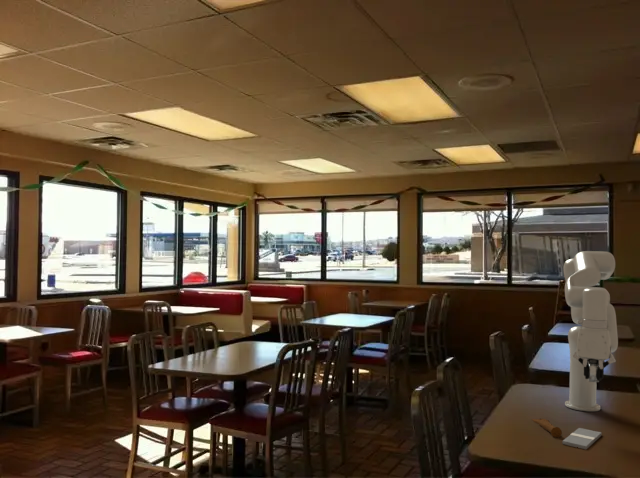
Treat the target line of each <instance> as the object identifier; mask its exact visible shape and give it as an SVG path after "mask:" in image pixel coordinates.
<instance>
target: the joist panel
mask: <svg viewBox="0 0 640 478" xmlns="http://www.w3.org/2000/svg"><path fill="white" fill-rule="evenodd" d="M601 436H602V432H601V431H597V430H596V431H595V430H591V429H588V428H583V427H578V428H577V429H575V430H574V431H573V432H571V433H570V435H568V436H567V437H565V438H564V439H563V440H562V445H564V446H565V445H566V446H570V447H575V448H577V447H578V449H581V450H587V449H589V448H590V447H591V446H592V445H593V444H594V443H595V442H596V441H597V440H598V439H599V438H601Z"/></svg>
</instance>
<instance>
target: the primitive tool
mask: <svg viewBox="0 0 640 478" xmlns="http://www.w3.org/2000/svg"><path fill="white" fill-rule="evenodd" d="M531 421H532V422H533V423H535V424H537V425H538V424H539V426H540V427H542V428H543V429H545V430H546V432H547V431H548V432H549V433H550V435H551V436H552V437H553V438H560V437H562V435H563V432H562V431H563V430H562V429H561V428H560V427H558V426H554V424H551V423H550V421H549V419H546V418H539V419H538V418H533V419H531Z"/></svg>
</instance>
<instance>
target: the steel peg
mask: <svg viewBox="0 0 640 478" xmlns="http://www.w3.org/2000/svg"><path fill="white" fill-rule="evenodd" d="M598 369H599V360H597V359H589V373H588V381H590V382H596V383H600V381H598V380H597V373H598Z"/></svg>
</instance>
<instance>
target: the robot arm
mask: <svg viewBox="0 0 640 478" xmlns="http://www.w3.org/2000/svg"><path fill="white" fill-rule="evenodd" d="M614 256H615V255H613V254H612V253H611V252H609V251H602V250H599V251H596V250H595V251H594V250H593V251H592V250H585V251H583V250H582V251H579V252H577V253H576V254H575V255H574V257H573V258H570V259H567V260H566V261H564V263H563V275H564V280H565V285H564V297H565V302H566V304H567V305H568V307H570V314H571V316H570V317H571V319H572V321H573V323H574V324H576V325H575V326H572V327H570V329H569V330H568V333H567V339H568V340H567V341H568V346H569V392H568V393H569V395H568V396H569V397H568V398H569V399H568V400H566V401H564V405H565V406H566V407H567V408H568V409H572V410H576V411H581V412H599V411H600V410H601V405H600V404H598V403H597V382H590V381H588V373H589V359H597V360H599V369H598V373H597V380H598V381H599V382H600V381H602V380H603V379H604V378H605V377H604V375H605V373H604V372H605V370H604V369H605V368H606V367H608V366H609V365H611V364H613V363H616V361H617V360H616V359H615V356H614V354H613V353H615V352H616V351H617V349H618V346H619V338H618V337H619V336H618V326H617V325H618V324H617V315H616V309H615V307H614V306H613V304H611V303H610V302H611V296H610V293H609V291H608V290H607V289H606V288H605V287H599V286H597V287H596V285H598V284H599V282H601V280H603V281H605V280H608V279H610V277H611V276H612V275H613V273H614V272H615V268H616V259H615V257H614ZM608 359H609V360H608Z"/></svg>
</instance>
